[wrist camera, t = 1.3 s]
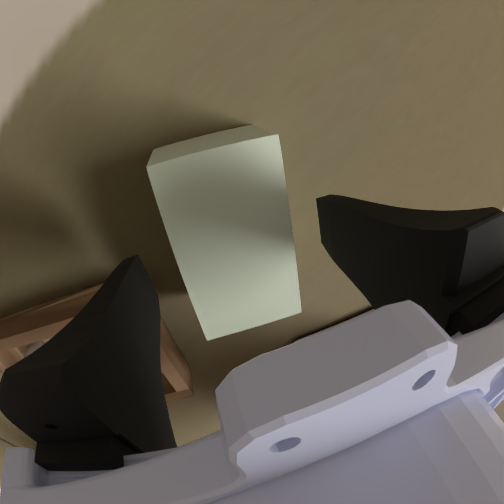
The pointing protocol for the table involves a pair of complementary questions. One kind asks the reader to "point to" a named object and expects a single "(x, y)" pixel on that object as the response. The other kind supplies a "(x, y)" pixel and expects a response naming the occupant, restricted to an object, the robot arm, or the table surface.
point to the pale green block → (229, 226)
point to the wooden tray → (58, 316)
